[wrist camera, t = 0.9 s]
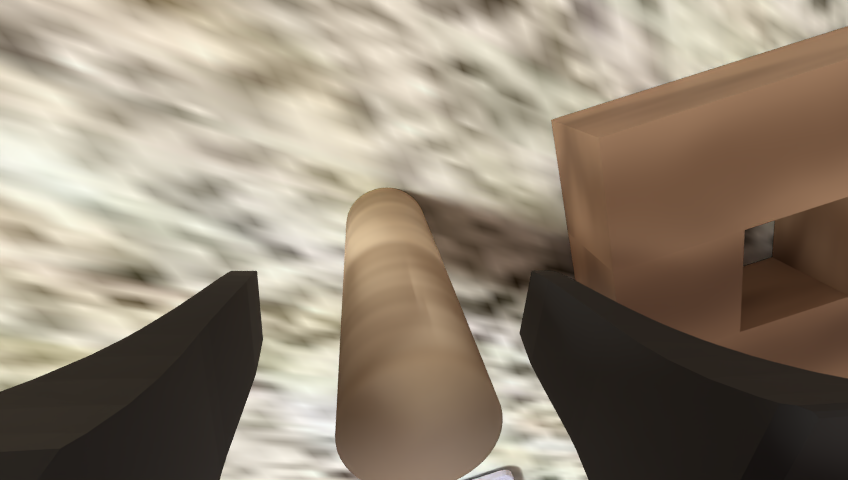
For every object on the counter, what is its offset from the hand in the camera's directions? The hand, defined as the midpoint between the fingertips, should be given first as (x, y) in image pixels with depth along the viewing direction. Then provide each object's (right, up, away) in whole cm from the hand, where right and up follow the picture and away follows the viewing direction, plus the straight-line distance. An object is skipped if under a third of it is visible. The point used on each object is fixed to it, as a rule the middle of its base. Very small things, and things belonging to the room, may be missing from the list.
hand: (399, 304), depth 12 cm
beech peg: (-1, +2, +5) cm, 6 cm away
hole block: (+14, +2, +8) cm, 16 cm away
